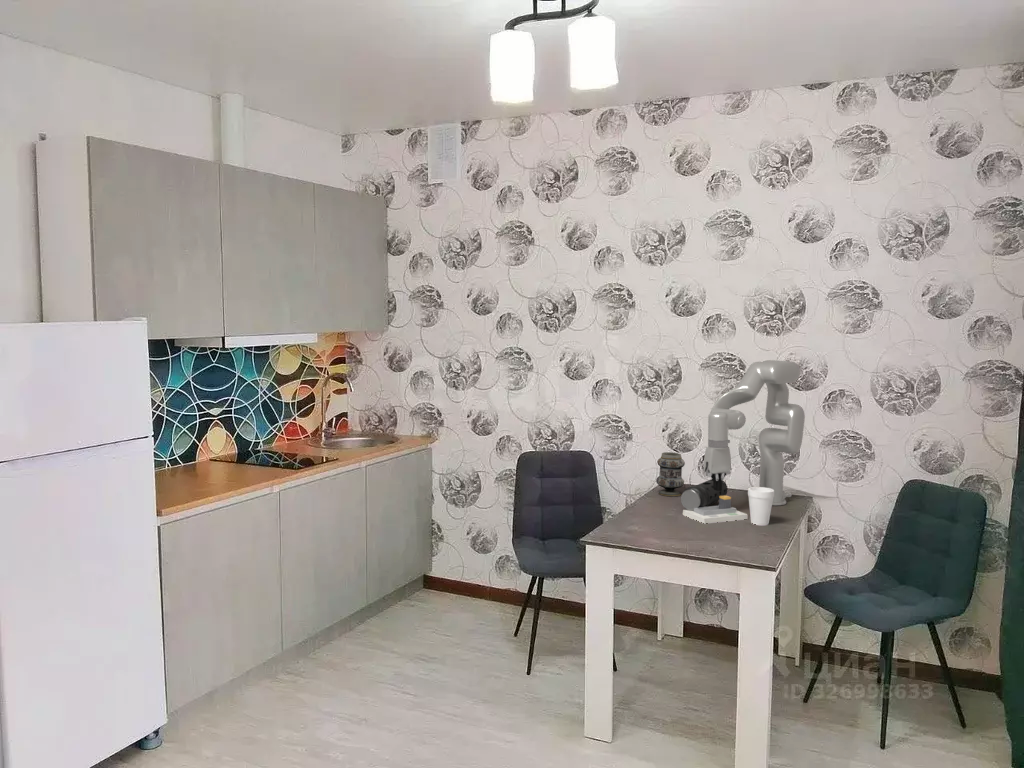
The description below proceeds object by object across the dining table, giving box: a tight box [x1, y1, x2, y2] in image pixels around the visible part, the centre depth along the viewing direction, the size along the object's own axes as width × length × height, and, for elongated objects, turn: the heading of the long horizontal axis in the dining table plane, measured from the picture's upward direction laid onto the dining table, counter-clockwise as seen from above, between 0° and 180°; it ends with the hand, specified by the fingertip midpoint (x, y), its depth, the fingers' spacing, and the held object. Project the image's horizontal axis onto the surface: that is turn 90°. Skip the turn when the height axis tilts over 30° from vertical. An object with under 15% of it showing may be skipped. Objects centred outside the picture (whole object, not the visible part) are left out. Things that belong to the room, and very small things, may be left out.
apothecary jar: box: [655, 451, 686, 497], centre depth 351 cm, size 12×12×18 cm
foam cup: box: [747, 486, 774, 526], centre depth 303 cm, size 10×9×13 cm
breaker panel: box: [682, 505, 749, 525], centre depth 312 cm, size 20×14×4 cm
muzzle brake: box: [680, 478, 728, 511], centre depth 324 cm, size 10×28×10 cm, turn 144°
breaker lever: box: [718, 494, 732, 509], centre depth 313 cm, size 3×3×6 cm
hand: (717, 489), depth 313 cm, fingers closed
